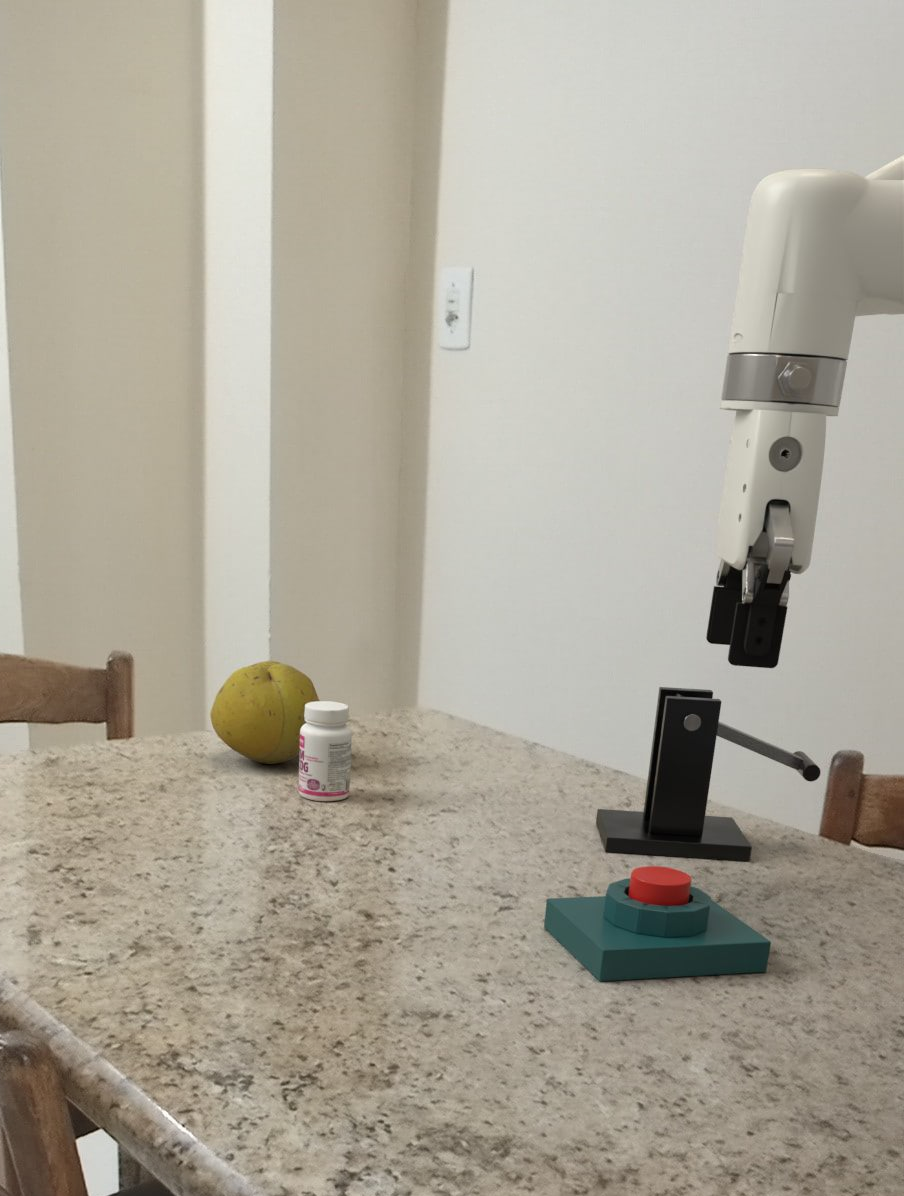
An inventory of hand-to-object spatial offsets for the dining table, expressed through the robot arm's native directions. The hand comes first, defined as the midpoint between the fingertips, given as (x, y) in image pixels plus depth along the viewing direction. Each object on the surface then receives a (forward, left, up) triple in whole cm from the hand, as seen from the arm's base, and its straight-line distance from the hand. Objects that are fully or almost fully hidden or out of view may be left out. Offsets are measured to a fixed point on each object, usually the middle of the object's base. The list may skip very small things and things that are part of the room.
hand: (739, 654), depth 96 cm
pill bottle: (+21, -34, -19) cm, 44 cm away
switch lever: (-10, -15, -11) cm, 21 cm away
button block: (+7, +7, -19) cm, 22 cm away
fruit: (+24, -47, -19) cm, 56 cm away
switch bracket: (-6, -17, -19) cm, 26 cm away
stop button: (+7, +7, -15) cm, 18 cm away
